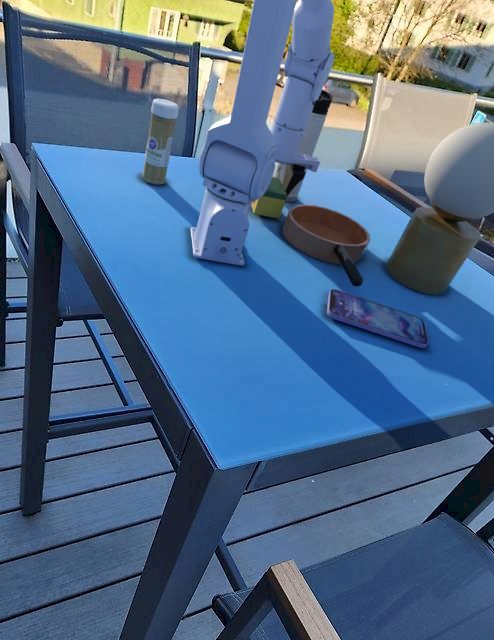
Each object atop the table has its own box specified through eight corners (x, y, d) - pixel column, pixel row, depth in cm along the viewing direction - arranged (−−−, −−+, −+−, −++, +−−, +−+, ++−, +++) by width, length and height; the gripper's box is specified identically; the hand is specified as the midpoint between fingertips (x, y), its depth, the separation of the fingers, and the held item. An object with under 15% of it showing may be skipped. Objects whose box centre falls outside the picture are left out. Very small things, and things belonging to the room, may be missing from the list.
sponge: (279, 218, 91) (287, 195, 88) (253, 213, 90) (261, 189, 87) (271, 200, 97) (279, 178, 94) (247, 196, 96) (254, 173, 93)
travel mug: (295, 193, 105) (332, 90, 92) (296, 205, 100) (335, 97, 87) (267, 186, 104) (300, 80, 91) (267, 197, 99) (302, 87, 86)
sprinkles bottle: (137, 179, 90) (148, 99, 82) (148, 173, 94) (159, 96, 85) (159, 187, 90) (172, 108, 81) (169, 181, 93) (183, 104, 85)
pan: (372, 270, 85) (382, 252, 83) (291, 255, 82) (299, 236, 80) (347, 230, 96) (355, 213, 94) (275, 216, 93) (281, 198, 91)
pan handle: (361, 289, 75) (366, 279, 74) (350, 288, 75) (355, 277, 73) (340, 252, 83) (344, 242, 82) (330, 250, 83) (334, 240, 82)
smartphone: (429, 346, 69) (328, 312, 69) (426, 351, 69) (325, 317, 70) (424, 318, 74) (330, 287, 74) (421, 323, 75) (328, 292, 75)
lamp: (381, 243, 95) (453, 103, 79) (451, 270, 94) (539, 132, 77) (375, 275, 84) (457, 118, 68) (454, 305, 82) (558, 153, 66)
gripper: (322, 127, 88) (296, 199, 97) (246, 108, 85) (226, 185, 94) (333, 139, 83) (304, 215, 92) (252, 120, 80) (230, 200, 89)
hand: (265, 201), depth 92 cm, fingers closed on sponge, 5 cm apart
